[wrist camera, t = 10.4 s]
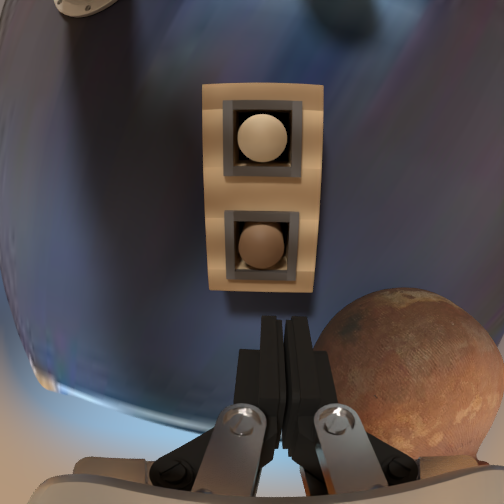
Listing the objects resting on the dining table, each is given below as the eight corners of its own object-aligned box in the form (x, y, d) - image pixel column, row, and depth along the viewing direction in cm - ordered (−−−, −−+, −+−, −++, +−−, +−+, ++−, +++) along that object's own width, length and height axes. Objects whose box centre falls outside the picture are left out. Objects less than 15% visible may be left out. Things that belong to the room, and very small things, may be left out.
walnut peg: (244, 206, 33) (238, 225, 27) (282, 207, 33) (284, 226, 27) (244, 242, 35) (238, 267, 29) (280, 243, 35) (283, 268, 28)
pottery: (294, 265, 36) (322, 472, 12) (465, 256, 34) (589, 379, 11) (293, 399, 44) (299, 551, 21) (429, 382, 42) (481, 505, 19)
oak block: (214, 92, 29) (200, 83, 23) (313, 93, 28) (324, 84, 22) (218, 264, 36) (208, 293, 30) (306, 266, 35) (313, 295, 29)
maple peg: (243, 117, 30) (237, 114, 24) (283, 117, 29) (287, 114, 23) (243, 155, 31) (237, 162, 25) (283, 156, 31) (286, 162, 25)
